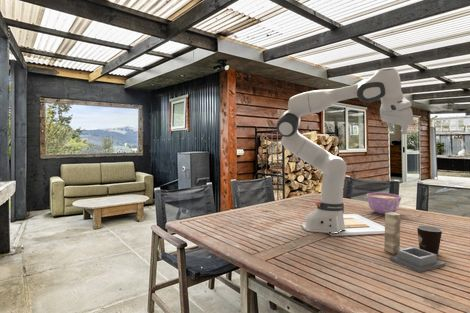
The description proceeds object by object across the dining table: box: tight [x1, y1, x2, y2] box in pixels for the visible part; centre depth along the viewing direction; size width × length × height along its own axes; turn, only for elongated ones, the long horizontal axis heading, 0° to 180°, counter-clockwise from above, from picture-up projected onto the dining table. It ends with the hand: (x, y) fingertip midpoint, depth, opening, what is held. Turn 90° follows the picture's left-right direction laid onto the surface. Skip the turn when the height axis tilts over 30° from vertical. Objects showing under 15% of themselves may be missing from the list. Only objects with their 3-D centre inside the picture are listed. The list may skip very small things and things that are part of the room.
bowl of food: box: [366, 192, 402, 215], centre depth 183 cm, size 20×20×12 cm
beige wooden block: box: [383, 212, 401, 254], centre depth 118 cm, size 4×4×16 cm
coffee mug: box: [416, 224, 443, 256], centre depth 118 cm, size 12×9×10 cm
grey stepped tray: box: [388, 246, 446, 273], centre depth 107 cm, size 14×12×4 cm
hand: (398, 132), depth 130 cm, fingers open, 8 cm apart
